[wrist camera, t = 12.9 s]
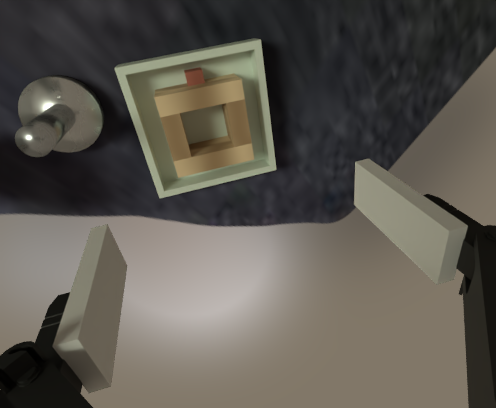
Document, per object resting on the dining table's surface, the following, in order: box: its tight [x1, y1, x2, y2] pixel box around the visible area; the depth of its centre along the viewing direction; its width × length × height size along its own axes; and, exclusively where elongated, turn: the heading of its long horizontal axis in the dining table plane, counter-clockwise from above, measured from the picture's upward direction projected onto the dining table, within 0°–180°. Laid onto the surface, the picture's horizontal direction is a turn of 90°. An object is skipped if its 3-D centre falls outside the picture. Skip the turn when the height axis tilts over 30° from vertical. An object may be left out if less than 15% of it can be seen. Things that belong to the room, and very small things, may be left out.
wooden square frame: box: [154, 67, 254, 178], centre depth 32 cm, size 8×9×4 cm
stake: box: [15, 75, 104, 157], centre depth 28 cm, size 7×7×9 cm
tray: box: [115, 39, 276, 198], centre depth 33 cm, size 13×13×3 cm
